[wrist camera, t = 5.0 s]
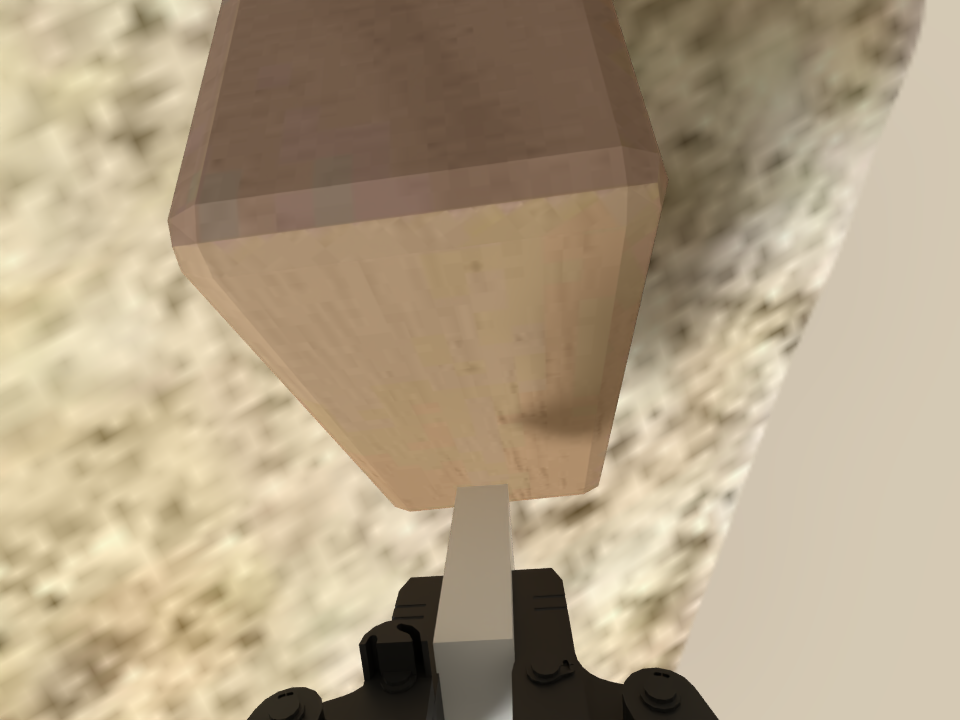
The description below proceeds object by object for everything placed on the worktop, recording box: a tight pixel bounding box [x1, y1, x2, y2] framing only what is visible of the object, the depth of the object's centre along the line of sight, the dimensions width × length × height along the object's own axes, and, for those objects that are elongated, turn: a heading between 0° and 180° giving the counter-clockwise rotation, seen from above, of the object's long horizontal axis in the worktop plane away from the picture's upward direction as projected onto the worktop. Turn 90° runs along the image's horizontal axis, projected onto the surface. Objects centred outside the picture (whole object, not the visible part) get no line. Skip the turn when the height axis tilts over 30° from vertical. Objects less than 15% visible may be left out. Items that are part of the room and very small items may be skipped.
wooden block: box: [168, 0, 668, 512], centre depth 21 cm, size 10×10×20 cm
